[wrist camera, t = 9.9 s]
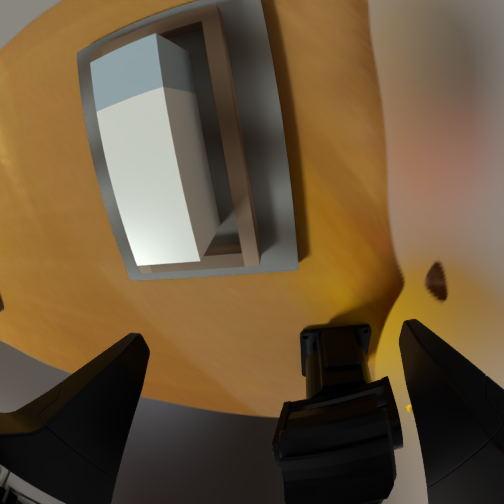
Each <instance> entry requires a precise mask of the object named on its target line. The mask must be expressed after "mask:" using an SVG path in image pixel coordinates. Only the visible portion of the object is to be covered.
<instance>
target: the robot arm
mask: <svg viewBox="0 0 504 504" xmlns="http://www.w3.org/2000/svg"><path fill="white" fill-rule="evenodd" d="M366 329H367V330H366ZM305 335H307V336H305ZM370 335H371V327H370V325H368V324H365V325H356V326H347V327H338V328H327V329H315V330H304V331H302V332H301V333H300V344H301V365H302V375H303V376H305V377H306V399H304V400H299V401H294V402H291V401H288V402H284V404H283V408H282V410H281V414H280V417H279V421H278V425H277V428H276V432H275V435H274V439H273V442H272V445H273V447H272V452H273V454H274V456H275V460H276V463H277V465H278V467H279V468H280V469H281V470H282V475H283V480H284V496H285V503H286V504H381V503H382V501H383V500H384V499H387V498H388V496H389V494H390V492H391V490H392V488H393V486H394V481H395V479H396V465H395V456H394V450H395V449H400V448H403V436H402V430H401V423H400V418H399V413H398V409H397V406H396V402H395V399H394V395H393V392H392V388H391V385H390V382H389V379H388V376H386V377H383V378H382V379H381V380H377V381H374V382H372V381H371V376H370V372H369V367H368V363H367V359H366V356H367V351H368V346H369V341H370ZM399 347H400V352H401V357H402V363H403V369H404V375H405V381H406V385H407V390H408V394H409V397H410V401H411V405H412V409H413V414H414V418H415V422H416V427H417V431H418V436H419V440H420V446H421V452H422V457H423V463H424V469H425V477H426V484H427V494H428V504H504V389H503V388H501V387H500V386H499V385H498V384H497V383H495V382H494V381H493V380H492V379H491V378H489V377H488V376H486V375H485V374H484V373H483V372H482V371H481V370H480V369H478V368H477V367H476V366H475V365H474V364H472V363H471V362H470V361H469V360H468V359H466V358H465V357H464V356H463V355H461V354H460V353H459V352H458V351H456V350H455V349H454V348H453V347H451V346H450V345H449V344H448V343H446V342H445V341H444V340H442V339H441V338H440V337H439V336H437V335H436V334H435V333H433V332H432V331H431V330H430V329H428V328H427V327H426V326H424V325H423V324H422V323H420V322H419V321H418V320H416V319H411V320H406V321H404V322H403V325H402V330H401V333H400V337H399ZM149 356H150V350H149V347H148V346H147V344H146V342H145V340H144V338H143V336H142V335H141V334H140V333H129V334H128V335H127V336H125V337H124V338H122V339H121V340H120V341H118V342H117V343H115V344H114V345H112V346H111V347H110V348H108V349H107V350H105V351H104V352H103V353H101V354H100V355H98V356H97V357H96V358H94V359H93V360H91V361H90V362H89V363H87V364H86V365H84V366H83V367H82V368H80V369H79V370H77V371H76V372H75V373H73V374H72V375H70V376H69V377H68V378H66V379H65V380H63V382H61V383H59V384H58V385H56V386H55V387H54V388H52V389H51V390H49V391H48V392H46V393H45V394H43V395H41V396H40V397H38V398H37V399H35V400H33V401H32V402H30V403H28V404H27V405H25V406H23V407H22V408H20V409H18V410H16V411H14V412H10V413H0V504H111V501H112V497H113V493H114V488H115V484H116V478H117V475H118V471H119V468H120V464H121V460H122V456H123V452H124V449H125V445H126V441H127V438H128V434H129V431H130V427H131V424H132V421H133V417H134V414H135V411H136V407H137V404H138V401H139V398H140V395H141V391H142V388H143V383H144V379H145V374H146V369H147V365H148V360H149Z"/></svg>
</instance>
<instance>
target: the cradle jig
mask: <svg viewBox="0 0 504 504" xmlns="http://www.w3.org/2000/svg"><path fill="white" fill-rule="evenodd" d="M155 33H156V34H158V35H160V36H162V37H164V38H165V39H167V40H169V41H171V42H173V43H174V44H176V45H178V46H180V47H181V48H183V49H185V50H186V51H188V52H189V53H190V60H191V66H192V72H193V78H194V85H195V91H196V97H197V103H198V108H199V114H200V120H201V126H202V131H203V137H204V142H205V148H206V153H207V159H208V164H209V169H210V175H211V180H212V185H213V190H214V195H215V200H216V205H217V210H218V215H219V220H220V227H219V229H218V230H217V232H216V234H215V236H214V237H213V239H212V241H211V243H210V245H209V246H208V248H207V250H206V252H205V254H204V255H203V257H202V259H201V261H196V262H182V263H168V264H155V265H141V266H137V264H136V261H135V258H134V255H133V253H132V250H131V247H130V244H129V241H128V238H127V235H126V232H125V228H124V225H123V222H122V219H121V215H120V212H119V209H118V205H117V202H116V198H115V194H114V191H113V187H112V183H111V179H110V175H109V171H108V167H107V163H106V158H105V154H104V149H103V145H102V140H101V135H100V129H99V124H98V118H97V112H96V106H95V99H94V92H93V84H92V76H91V66H90V63H91V62H93V61H95V60H96V59H98V58H100V57H102V56H104V55H106V54H108V53H110V52H112V51H114V50H117V49H119V48H121V47H123V46H125V45H128V44H130V43H132V42H135V41H137V40H140V39H142V38H145V37H147V36H150V35H152V34H155ZM77 64H78V75H79V84H80V92H81V100H82V107H83V113H84V119H85V125H86V130H87V135H88V141H89V145H90V150H91V155H92V159H93V163H94V168H95V172H96V176H97V179H98V183H99V187H100V191H101V194H102V198H103V201H104V205H105V208H106V211H107V215H108V218H109V221H110V224H111V227H112V230H113V233H114V236H115V239H116V242H117V245H118V248H119V251H120V253H121V256H122V259H123V262H124V264H125V267H126V269H127V272H128V275H129V277H130V280H131V281H133V280H155V279H174V278H193V277H210V276H226V275H241V274H255V273H269V272H282V271H295V270H299V265H298V253H297V241H296V230H295V220H294V210H293V200H292V191H291V183H290V174H289V166H288V158H287V150H286V143H285V135H284V128H283V121H282V114H281V108H280V101H279V95H278V89H277V83H276V77H275V71H274V65H273V60H272V54H271V49H270V43H269V38H268V33H267V28H266V23H265V18H264V14H263V9H262V4H261V0H199V1H195V2H191V3H188V4H185V5H181V6H178V7H175V8H172V9H169V10H166V11H163V12H161V13H158V14H155V15H153V16H150V17H147V18H145V19H143V20H140V21H138V22H135V23H133V24H131V25H129V26H126V27H124V28H122V29H120V30H118V31H116V32H114V33H112V34H110V35H108V36H106V37H104V38H102V39H100V40H98V41H96V42H95V43H93V44H91V45H89V46H88V47H86V48H84V49H82V50H81V51H79V52H77Z"/></svg>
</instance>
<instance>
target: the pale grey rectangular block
mask: <svg viewBox="0 0 504 504" xmlns="http://www.w3.org/2000/svg"><path fill="white" fill-rule="evenodd" d="M90 66H91V76H92V84H93V92H94V99H95V106H96V112H97V118H98V124H99V129H100V135H101V140H102V145H103V149H104V154H105V158H106V163H107V167H108V171H109V175H110V179H111V183H112V187H113V191H114V194H115V198H116V202H117V205H118V209H119V212H120V215H121V219H122V222H123V225H124V228H125V232H126V235H127V238H128V241H129V244H130V247H131V250H132V253H133V255H134V258H135V261H136V264H137V266H141V265H155V264H168V263H182V262H196V261H201V259H202V257H203V255H204V254H205V252H206V250H207V248H208V246H209V245H210V243H211V241H212V239H213V237H214V236H215V234H216V232H217V230H218V229H219V227H220V220H219V215H218V210H217V205H216V200H215V195H214V190H213V185H212V180H211V175H210V169H209V164H208V159H207V153H206V148H205V142H204V137H203V131H202V126H201V120H200V114H199V108H198V103H197V97H196V91H195V85H194V78H193V72H192V66H191V60H190V53H189V52H188V51H186V50H185V49H183V48H181V47H180V46H178V45H176V44H174V43H173V42H171V41H169V40H167V39H165V38H164V37H162V36H160V35H158V34H156V33H155V34H152V35H150V36H147V37H145V38H142V39H140V40H137V41H135V42H132V43H130V44H128V45H125V46H123V47H121V48H119V49H117V50H114V51H112V52H110V53H108V54H106V55H104V56H102V57H100V58H98V59H96V60H95V61H93V62H91V63H90Z"/></svg>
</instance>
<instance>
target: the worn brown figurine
mask: <svg viewBox="0 0 504 504" xmlns="http://www.w3.org/2000/svg"><path fill="white" fill-rule="evenodd" d="M2 310H4V307H3V304H2V302H1V300H0V312H1V311H2Z"/></svg>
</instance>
